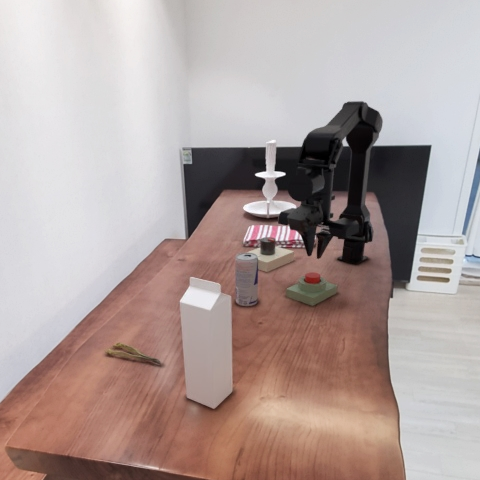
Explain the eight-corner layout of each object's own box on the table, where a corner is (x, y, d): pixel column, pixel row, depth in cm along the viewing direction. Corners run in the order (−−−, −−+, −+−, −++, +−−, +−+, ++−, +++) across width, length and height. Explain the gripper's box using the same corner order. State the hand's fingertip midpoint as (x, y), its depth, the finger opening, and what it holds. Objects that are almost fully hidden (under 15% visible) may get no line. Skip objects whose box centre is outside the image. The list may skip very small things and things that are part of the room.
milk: (205, 381, 86) (200, 270, 76) (233, 392, 83) (231, 276, 73) (185, 398, 82) (177, 282, 72) (214, 410, 79) (209, 290, 69)
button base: (310, 284, 122) (311, 270, 120) (336, 293, 117) (338, 278, 115) (285, 296, 117) (286, 281, 115) (312, 306, 111) (313, 290, 109)
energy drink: (259, 298, 116) (260, 253, 111) (254, 308, 112) (255, 261, 106) (238, 296, 118) (238, 251, 112) (233, 305, 114) (232, 259, 108)
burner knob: (257, 252, 137) (257, 238, 135) (266, 249, 139) (267, 235, 137) (268, 256, 134) (268, 241, 132) (278, 252, 136) (278, 238, 134)
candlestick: (239, 225, 173) (239, 145, 159) (245, 208, 194) (245, 136, 181) (296, 225, 169) (300, 144, 156) (295, 208, 190) (299, 134, 177)
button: (310, 277, 117) (311, 271, 116) (322, 281, 115) (323, 274, 114) (301, 281, 115) (302, 275, 114) (314, 285, 113) (314, 279, 112)
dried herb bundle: (157, 368, 91) (156, 360, 90) (104, 357, 97) (102, 349, 96) (168, 358, 94) (167, 349, 93) (116, 348, 100) (114, 339, 99)
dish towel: (316, 248, 146) (316, 237, 145) (242, 247, 151) (242, 236, 150) (315, 232, 161) (315, 222, 160) (247, 231, 166) (247, 221, 164)
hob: (267, 253, 145) (268, 243, 143) (293, 260, 138) (294, 250, 136) (241, 263, 138) (241, 253, 137) (266, 272, 131) (267, 261, 130)
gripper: (263, 192, 107) (262, 257, 114) (334, 205, 94) (327, 276, 101) (294, 184, 113) (291, 245, 120) (364, 194, 100) (356, 262, 107)
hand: (314, 257), depth 112 cm, fingers closed
